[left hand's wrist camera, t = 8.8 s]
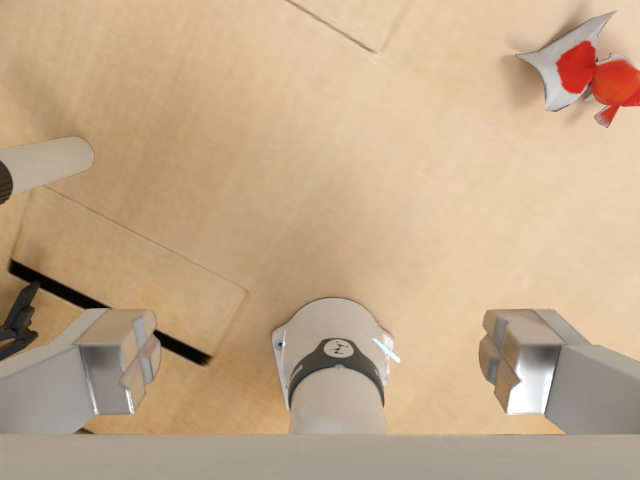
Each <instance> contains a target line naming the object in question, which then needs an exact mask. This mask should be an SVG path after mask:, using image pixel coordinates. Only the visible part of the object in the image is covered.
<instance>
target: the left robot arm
mask: <svg viewBox="0 0 640 480" xmlns="http://www.w3.org/2000/svg"><path fill="white" fill-rule="evenodd" d="M156 327H157V321H156V316H155V313H154V312H153V311H152V310H151V309H109V308H102V309H86V310H85V311H84V312H83V313H82V314H81V315H80V316H79V317H78V318H76V319H75V320H74V321H73V322H72V323H71V324H70V325H69V326H68V327H67V328H66V329H64V330H63V331H62V332H61V333H60V334H59V335H58V336H57V337H56V338H55V339H54V340H52V341H51V342H50V343H49V344H48V345H40V346H37V347H35V348H32V349H30V350H27V351H25V352H23V353H20V354H18V355H15V356H13V357H10V358H8V359H6V360H3V361H1V362H0V480H640V362H639V361H637V360H634V359H632V358H629V357H627V356H625V355H622V354H620V353H617V352H615V351H613V350H610V349H608V348H605V347H603V346H600V345H592V344H591V343H590V342H589V341H588V340H586V339H585V338H584V337H583V336H582V335H581V334H580V333H579V332H578V331H577V330H576V329H575V328H573V327H572V326H571V325H570V324H569V323H568V322H567V321H566V320H565V319H564V318H563V317H562V316H560V315H559V314H558V313H557V312H556V311H555V310H553V309H550V308H543V309H501V310H487V311H486V314H485V316H484V320H483V327H484V329H485V330H486V332H487V333H488V334H487V335H486V336H485V337H484V338H483V339H482V340H481V341H480V346H479V362H480V367H481V370H482V373H483V375H484V377H485V378H486V380H487V381H489V382H490V383H492V384H493V385H495V390H494V394H495V396H496V397H497V399H498V401H499V403H500V404H501V406H502V408H503V409H504V411H505V413H506V414H518V415H545V418H547V419H548V420H549V421H551V422H552V423H553V424H555V425H556V426H557V427H559V428H560V429H561V430H563V431H564V432H565V433H567V434H390V432H389V429H388V425H387V422H386V418H385V414H384V410H383V408H384V387H383V386H385V387H386V385H387V377H386V374H388V373H389V364H388V360H389V358H390V356H391V357H392V358H394V359H395V360H396V361H397V362H398V363H399V362H400V359H399V358H398V357H397V356H395V355H394V354H393V353H392V350H393V347H394V338H393V337H392V336H391V335H390V334H389V333H388V332H386V331H385V330H383V329H382V328H380V326H379V325H378V324H377V322H376V320H375V319H374V317H373V316H372V315H371V314H370V312H369V311H368V310H366V309H365V308H364V307H363V306H361V305H359V304H357V303H355V302H353V301H350V300H347V299H342V298H325V299H320V300H317V301H314V302H311V303H309V304H307V305H306V306H304V307H303V308H301V309H300V310H299V311H298V312H297V313H296V314H295V315H294V316H293V318H292V319H291V320H290V321H289V322H288V323H287V324H285V325H283V326H281V327H279V328H277V329H276V330H274V331H273V333H272V344H273V349H274V353H275V358H276V363H277V368H278V372H279V377H280V382H281V387H282V391H283V396H284V401H285V405H286V408H287V410H288V411H290V422H289V433H288V434H73V433H75V432H76V431H77V430H79V429H80V428H81V427H83V426H84V425H85V424H87V423H88V422H89V421H91V420H92V419H93V418H95V415H121V414H134V413H135V411H136V409H137V408H138V406H139V404H140V403H141V401H142V399H143V397H144V396H145V394H146V390H145V385H147V384H148V383H150V382H151V381H153V380H154V378H155V376H156V375H157V373H158V370H159V366H160V362H161V346H160V341H159V340H158V339H157V338H156V337H155V336H154V335H153V334H152V333H153V332H154V330H155V329H156ZM279 343H283V344H282V345H280V344H279Z"/></svg>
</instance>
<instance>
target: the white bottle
mask: <svg viewBox="0 0 640 480" xmlns="http://www.w3.org/2000/svg"><path fill="white" fill-rule="evenodd" d="M0 160H1V161H2V162H3V163H4V164H5V166H6V167H7V168H8V170H9V172H10V174H11V176H12V180H13V191H12V195H11V196H14V195H17V194H19V193H22V192H25V191H28V190H31V189H34V188H37V187H40V186H43V185H46V184H48V183H51V182H54V181H57V180H60V179H63V178H66V177H69V176H72V175H74V174H77V173H80V172H83V171H86V170H88V169H89V168H90V167H91V166H92V164H93V162H94V152H93V150H92V148H91V146H90V145H89V144H88V143H87V142H86V141H85V140H83V139H82V138H79V137H75V136H70V137H65V138H59V139H54V140H49V141H44V142H38V143H33V144H28V145H22V146H17V147H12V148H6V149H1V150H0ZM11 196H10V197H11Z"/></svg>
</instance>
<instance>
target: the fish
mask: <svg viewBox="0 0 640 480" xmlns="http://www.w3.org/2000/svg"><path fill="white" fill-rule="evenodd" d="M615 12H616V11H614V12H610V13H607V14H604V15H601V16H598V17H594V18H592V19H590V20H588V21H586V22H585V23H583V24H581V25H580V26H578V27H576V28H574V29H573V30H571V31H569V32H568V33H566V34H565V35H563V36H562V37H560V38H559V39H557V40H556V41H554V42H553V43H551V44H549V45H548V46H546V47H544V48H543V49H541V50H539V51H536V52H531V53H526V54H515V55H516V56H517V57H519V58H521V59H523V60H525V61H526V62H528V63H529V64H531V65H532V66H533V67H535V68H536V69H537V70H538V71H539V73H540V75H541V77H542V80H543V84H544V89H545V111H555V112H556V111H558V110H560V109H562V108H564V107H566V106H568V105H570V104H571V103H573V102H574V101H575V100H576V99H577V98H578V97H579V96H580V95H581V94H582V93H583V92H584V91H585V90H586V89H587V88H588V87H589V86H590V85H591V91H592V93H591V94H590V95H589V96H588V97H587V98H585V99H584V101H585V102H587V101H592V100H597V101H598V102H599V103H602V104H604V105H607V106H606V107H605V108H604V109H602V110H601V111H600V112H599V113H598V114H596V115H595V117H594V118H595V120H596V121H597V122H598V123H599V124H601V125H603V126H605V127H607V128H608V126H609V125H610V123H611V122H612V120H613V118H614V116H615V114H616V112H617V111H618V109H619V107H620V106H623V107H627V106H640V71H639V70H638V69H637V68H636V67H635V66H634V64H633V63H632V62H631V60H630V59H629V58H627V57H625V56H622V55H618V54H612V53H611V54H610V57H609V58H608V59H605V60H602V61H598V56H597V43H598V33H599V32H600V31H601V29H602V28H603V27H604V25H605V24H606V23H607V21H608V20H609V19H610V18H611V17H612V15H613V14H614V13H615ZM597 65H598V66H597Z"/></svg>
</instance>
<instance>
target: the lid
mask: <svg viewBox="0 0 640 480" xmlns="http://www.w3.org/2000/svg"><path fill="white" fill-rule="evenodd" d="M12 191H13V180H12V176H11V174H10V172H9V170H8V168H7V167H6V166H5V164H4V163H3V162H2V161H1V160H0V204H3V203H5V201H6V200H8V199H9V197H10V196H11V195H12Z"/></svg>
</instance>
